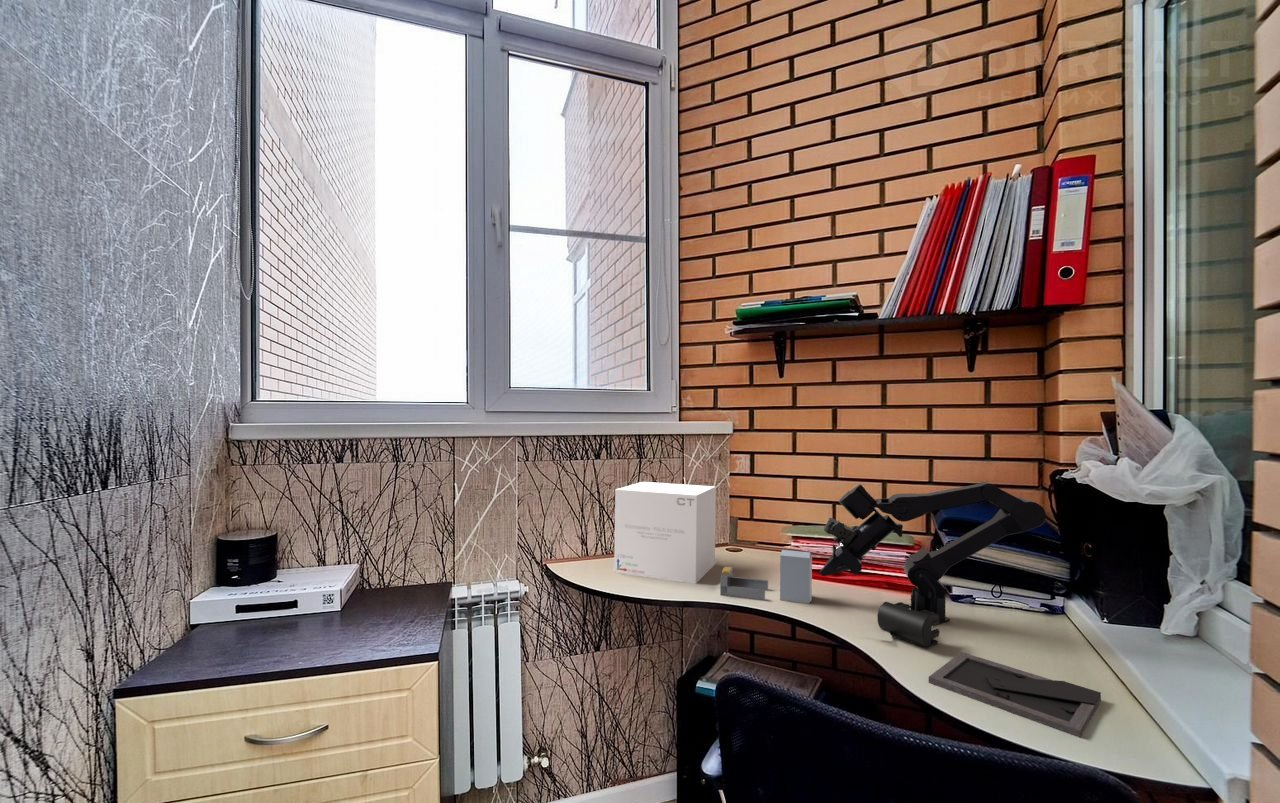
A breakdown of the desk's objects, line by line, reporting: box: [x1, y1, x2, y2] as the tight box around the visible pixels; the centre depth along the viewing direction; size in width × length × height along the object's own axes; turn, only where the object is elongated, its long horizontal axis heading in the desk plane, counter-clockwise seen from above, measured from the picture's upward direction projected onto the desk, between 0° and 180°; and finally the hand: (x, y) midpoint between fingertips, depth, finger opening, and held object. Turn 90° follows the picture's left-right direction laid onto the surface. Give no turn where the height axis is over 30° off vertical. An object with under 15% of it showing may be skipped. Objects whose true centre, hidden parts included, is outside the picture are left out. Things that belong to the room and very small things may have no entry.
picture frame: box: [928, 651, 1102, 738], centre depth 92 cm, size 16×2×21 cm
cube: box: [613, 481, 717, 585], centre depth 164 cm, size 25×21×24 cm
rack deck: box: [719, 566, 769, 601], centre depth 137 cm, size 24×10×7 cm, turn 72°
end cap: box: [876, 601, 941, 649], centre depth 114 cm, size 10×7×7 cm
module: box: [779, 549, 813, 604], centre depth 135 cm, size 7×6×11 cm
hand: (821, 574), depth 133 cm, fingers closed
